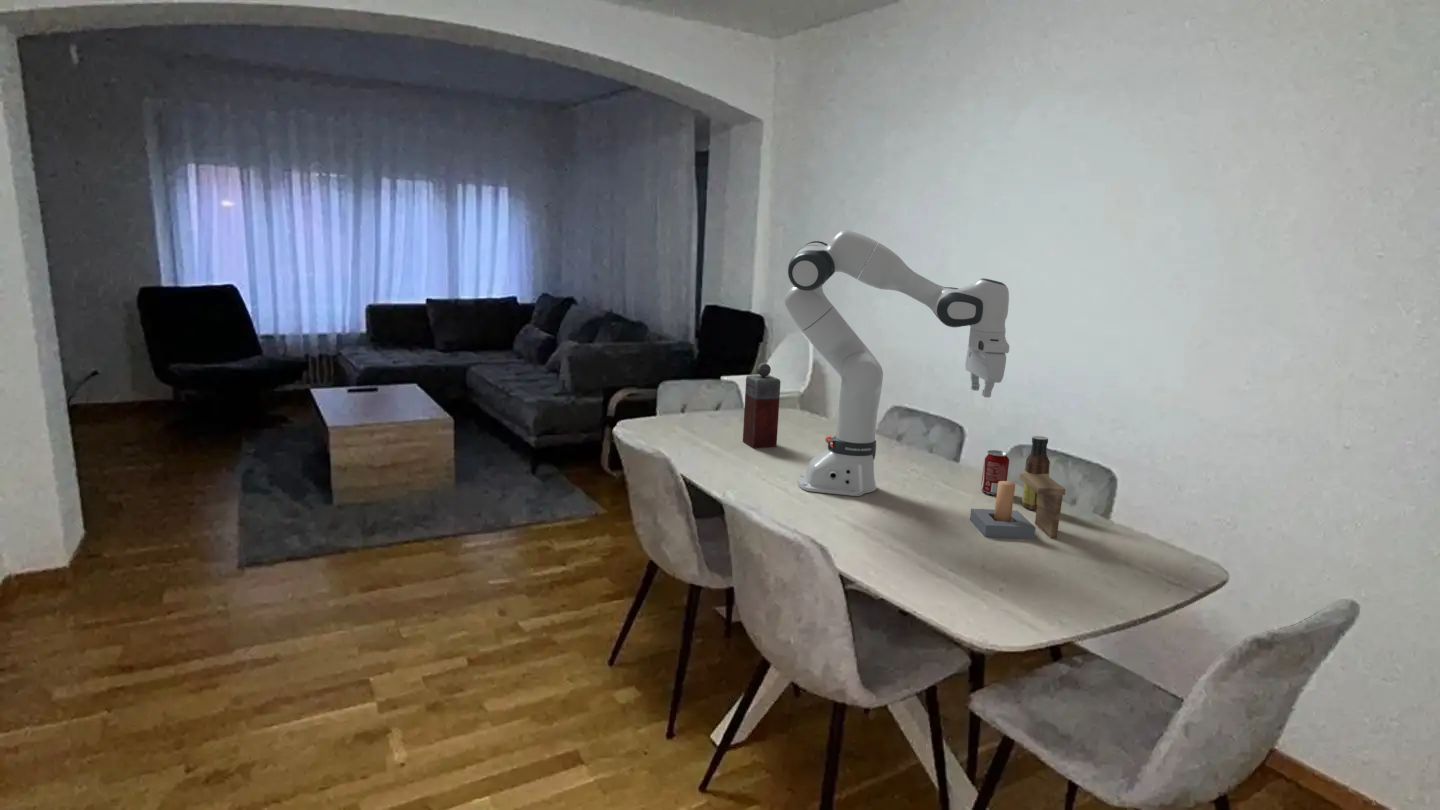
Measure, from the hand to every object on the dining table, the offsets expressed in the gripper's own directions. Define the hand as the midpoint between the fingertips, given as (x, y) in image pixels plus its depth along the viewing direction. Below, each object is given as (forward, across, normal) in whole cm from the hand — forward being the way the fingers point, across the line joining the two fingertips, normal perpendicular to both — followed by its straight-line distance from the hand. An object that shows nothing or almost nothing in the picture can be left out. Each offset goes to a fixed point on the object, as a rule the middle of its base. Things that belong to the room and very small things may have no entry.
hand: (980, 393), depth 210 cm
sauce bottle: (+31, 0, +18) cm, 36 cm away
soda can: (+31, -12, +11) cm, 35 cm away
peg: (+31, +18, +3) cm, 36 cm away
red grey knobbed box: (+31, -56, -55) cm, 85 cm away
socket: (+31, +18, +3) cm, 36 cm away
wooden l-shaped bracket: (+31, +18, +12) cm, 38 cm away
